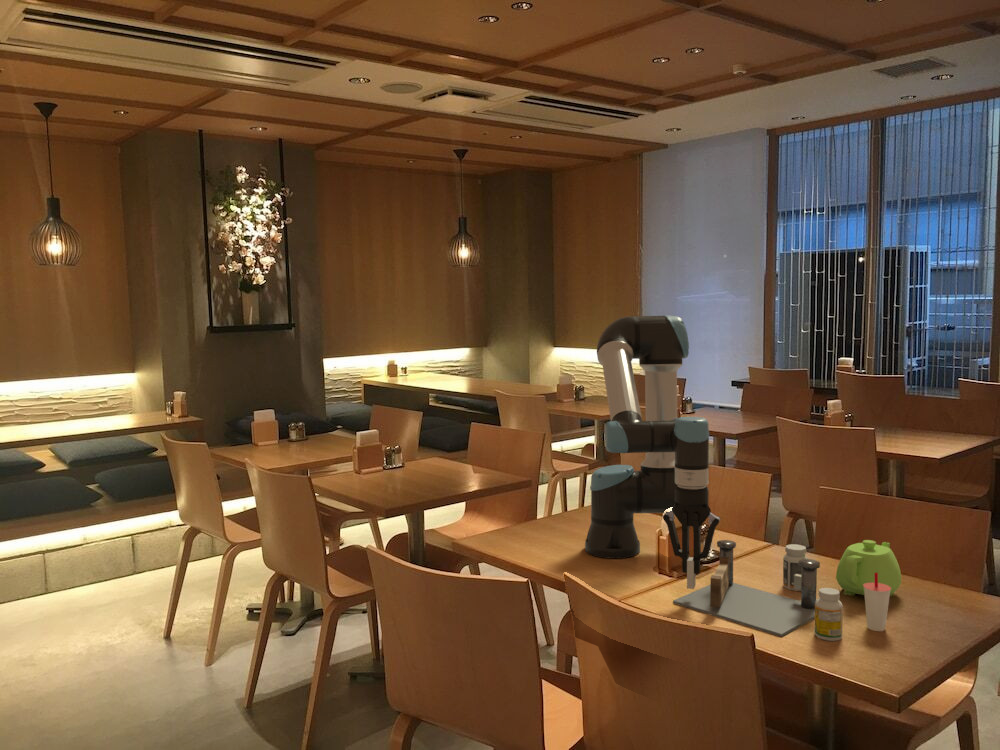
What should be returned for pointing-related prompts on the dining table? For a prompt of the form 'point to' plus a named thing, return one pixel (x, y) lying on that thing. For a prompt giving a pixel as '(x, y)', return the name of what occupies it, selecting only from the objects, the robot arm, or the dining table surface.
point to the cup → (876, 604)
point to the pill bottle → (792, 564)
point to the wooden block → (719, 583)
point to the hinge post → (727, 555)
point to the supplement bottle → (828, 615)
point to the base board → (752, 608)
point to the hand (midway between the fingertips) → (691, 586)
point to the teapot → (868, 567)
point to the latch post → (807, 582)
